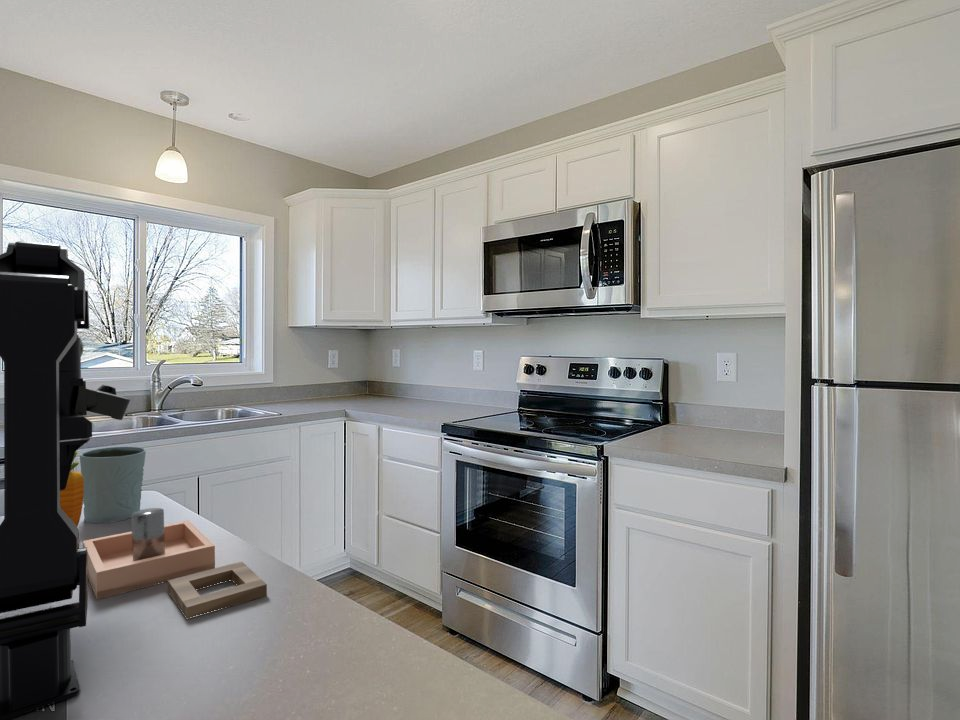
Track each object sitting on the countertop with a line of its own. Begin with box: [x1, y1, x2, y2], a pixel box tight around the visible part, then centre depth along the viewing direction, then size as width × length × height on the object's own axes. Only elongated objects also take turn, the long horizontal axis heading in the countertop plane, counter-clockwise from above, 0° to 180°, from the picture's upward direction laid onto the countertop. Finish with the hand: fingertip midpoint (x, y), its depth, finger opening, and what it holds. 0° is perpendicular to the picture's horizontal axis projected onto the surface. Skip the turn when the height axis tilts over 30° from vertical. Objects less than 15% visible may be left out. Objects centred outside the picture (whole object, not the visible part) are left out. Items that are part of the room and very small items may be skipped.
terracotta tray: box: [82, 520, 216, 600], centre depth 79 cm, size 14×14×4 cm
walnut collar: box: [167, 561, 268, 619], centre depth 71 cm, size 9×9×2 cm
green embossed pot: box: [79, 446, 147, 524], centre depth 101 cm, size 10×10×12 cm
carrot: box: [60, 450, 84, 527], centre depth 87 cm, size 5×5×15 cm
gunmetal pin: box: [130, 507, 165, 561], centre depth 78 cm, size 4×4×7 cm
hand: (57, 482), depth 75 cm, fingers open, 9 cm apart
